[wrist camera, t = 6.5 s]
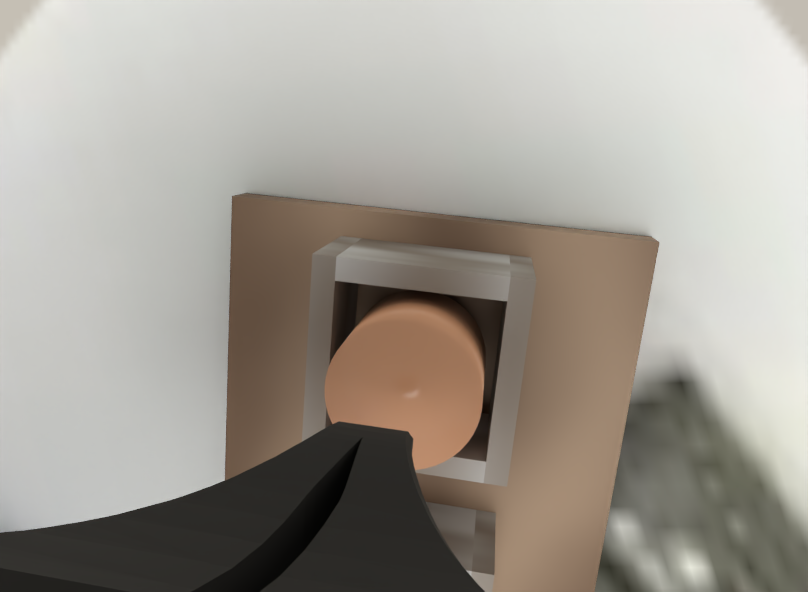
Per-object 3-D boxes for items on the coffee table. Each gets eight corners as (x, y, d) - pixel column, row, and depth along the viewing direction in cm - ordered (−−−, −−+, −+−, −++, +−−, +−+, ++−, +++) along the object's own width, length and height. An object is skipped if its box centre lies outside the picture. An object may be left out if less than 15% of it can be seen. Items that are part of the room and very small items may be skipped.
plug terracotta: (348, 407, 18) (319, 457, 16) (357, 282, 18) (329, 310, 15) (477, 426, 18) (472, 481, 15) (494, 298, 17) (492, 331, 14)
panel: (232, 611, 24) (180, 703, 20) (245, 193, 20) (184, 206, 16) (571, 674, 22) (585, 786, 19) (651, 236, 19) (689, 262, 15)
